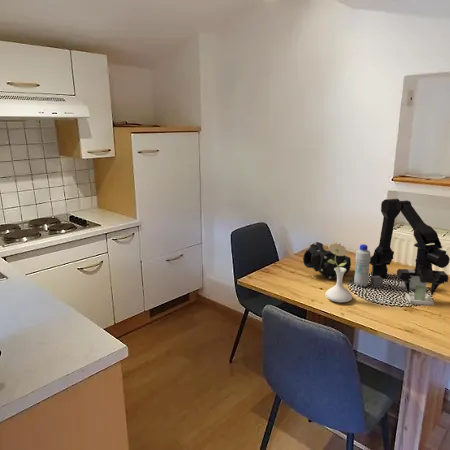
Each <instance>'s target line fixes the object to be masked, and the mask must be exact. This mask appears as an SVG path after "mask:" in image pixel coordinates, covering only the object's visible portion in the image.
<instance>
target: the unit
mask: <svg viewBox="0 0 450 450" xmlns="http://www.w3.org/2000/svg"><path fill="white" fill-rule="evenodd" d="M406 269H407V268H406ZM407 270H408V271H409V272H415V271H414V269H413V268H412V269H411V268H410V269H409V268H408V269H407ZM409 280H410V291H415V286H416V285H424V286H426V287H427V283H422V282H421V281H420V278H419V277H410V279H409ZM402 286H403V287H402ZM401 289H402V290H404V289H406V286H405V283H404V281H402V280H401ZM427 291H428V288H426V292H427Z"/></svg>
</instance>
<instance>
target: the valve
mask: <svg viewBox="0 0 450 450" xmlns="http://www.w3.org/2000/svg"><path fill="white" fill-rule="evenodd" d="M335 255H336V254H333V253H332V252H331V251H330V250H326V249H324V244H323V243H322V242H318V241H316V242H314V243H312V244H310V245H308V249H306V250H305V253H303V258H302V261H303V265H304V266H305V268H309V269H313V270H314V272H318V273H320V274H321V275H322V276H323V277H324V278H325V279H328V280H333V279H335V278H337V274H336V271H335V270H334V268H336V267H337V265H338V267H342V268H345V269H346V271H345V273H344V275H346V274H347V273H349V272H350V271H351V270H350V269H351V265H352V262H351V261H352V260H351V257H349V256H347V255H346V254H345V255H343V256H337V255H336V263H337V265H336V263H335V264H332V263H330V262H327V261H328V260H330V259H332V260H333V261H335ZM346 262H347V263H346ZM341 263H346V264H345V265H343V266H339V265H340V264H341Z"/></svg>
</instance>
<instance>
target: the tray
mask: <svg viewBox="0 0 450 450" xmlns="http://www.w3.org/2000/svg"><path fill="white" fill-rule="evenodd" d="M414 295H415V292H409V294H408V293H407V292H405V298H406V297H407V298H406V299H407V301H408V303H409V305H418V306H419V305H420V306H433V307H434V306H435V305H434V303H435V301H434V300H433V299H432V297H431V295H429V293H425V300H424V301H422V300H414Z"/></svg>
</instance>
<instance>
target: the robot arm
mask: <svg viewBox="0 0 450 450" xmlns="http://www.w3.org/2000/svg"><path fill="white" fill-rule="evenodd" d="M380 206H381V207H380V211H381V214H382V216H383V218H382V223H381V225H382V226H381V231H380V237H379V243H378V246H376V248H375V249H374V252H373V255H371V259H370V263H369V265H371V272H370V276H380V277H381V278H382V279H387V277H388V271H389V270H388V266H389V265H391V262H392V261H393V260H394V254H395V251H394V250H392V248H391V246H392V245H391V243H392V239H393V232H394V226H395V222H396V221H395V220H396V218H397V217H398V216H399V215H400V213H401V214H402V215H403V216H404V218H405V220H406V221H407V222H408V224H409V225H410V227H411V228H412V230H413V237H414V239H415V241H416V243H414V244H413V246H414V247H416V248H417V249H416V257H415V266H414V269H413V270H414V271H415V272H409V271H408V270H407V268H398V269H397V271H396V276H397V277H398V279H399V280H401V282H402V281H404V283H405V286H406V289H407V290H406V293H408V294H409V293H410V291H411V290H410V280H409V279H410V277H419V278H420V281H421V282H422V283H426V284H431V285H430V286H431V287H430V296H433V295H434V293H435V292H436V290H437V289H438V287H439V286H441V284H445V283H448V282H449V278H450V277H449V275H448V274H447V273H446V272H445V271H443V270H433V266H436V267H437V268H440V269H444V268H447V266H448V265H449V263H450V257H449V254H447V251H446V250H444V249H442V248H443V246H442V243H441V241H440V239H439V235H438V232H437V231H436V230H435V229H434V228H433V227H432V226H430V225H428V224H427V223H425V222H424V220H423V219H422V217H420V215H419V213H418V212H417V210H415V208H414V207H413V206H412V202H411V201H410V200H408V199H407V200H400V199H399V198H387V199H383V200H382V202H381V204H380Z"/></svg>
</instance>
